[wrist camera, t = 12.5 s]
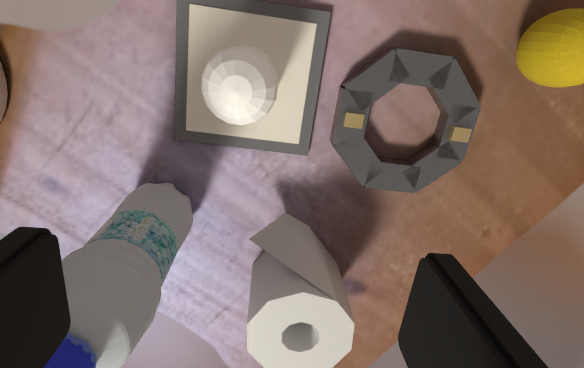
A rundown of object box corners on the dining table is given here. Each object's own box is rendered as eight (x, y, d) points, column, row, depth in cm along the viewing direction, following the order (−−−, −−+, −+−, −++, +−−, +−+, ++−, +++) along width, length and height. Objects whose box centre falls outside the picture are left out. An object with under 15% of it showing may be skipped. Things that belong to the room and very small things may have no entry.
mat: (176, 137, 32) (174, 139, 31) (178, -12, 27) (176, -13, 27) (307, 153, 33) (307, 156, 32) (330, 12, 28) (331, 12, 28)
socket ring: (323, 176, 34) (326, 185, 32) (348, 41, 29) (353, 41, 27) (443, 190, 35) (454, 199, 33) (485, 62, 30) (500, 63, 28)
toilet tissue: (284, 194, 34) (288, 240, 26) (353, 284, 39) (373, 347, 31) (211, 241, 36) (193, 297, 28) (285, 322, 40) (287, 391, 32)
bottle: (138, 163, 32) (-43, 325, 14) (208, 188, 34) (127, 367, 15) (121, 223, 35) (-54, 431, 16) (188, 244, 36) (95, 460, 17)
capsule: (274, 43, 28) (275, 43, 21) (279, 109, 30) (281, 131, 23) (209, 47, 28) (186, 49, 21) (218, 113, 30) (199, 136, 23)
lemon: (538, -3, 29) (629, -19, 21) (572, 47, 30) (668, 48, 23) (483, 49, 30) (551, 52, 23) (518, 94, 32) (592, 111, 24)
